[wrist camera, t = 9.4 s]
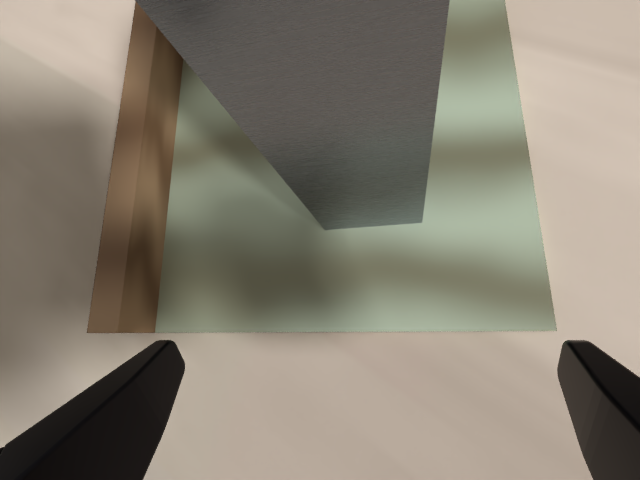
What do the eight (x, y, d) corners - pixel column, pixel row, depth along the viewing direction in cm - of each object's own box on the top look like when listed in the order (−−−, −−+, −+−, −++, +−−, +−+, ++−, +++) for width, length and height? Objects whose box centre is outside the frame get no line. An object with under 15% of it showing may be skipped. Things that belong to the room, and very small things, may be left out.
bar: (422, 222, 16) (461, -95, 4) (325, 230, 17) (127, -10, 5) (414, 133, 18) (427, -324, 5) (323, 145, 19) (158, -218, 6)
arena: (552, 330, 15) (586, 330, 12) (134, 332, 19) (86, 332, 16) (493, -47, 20) (508, -111, 17) (170, 23, 24) (138, -18, 21)
